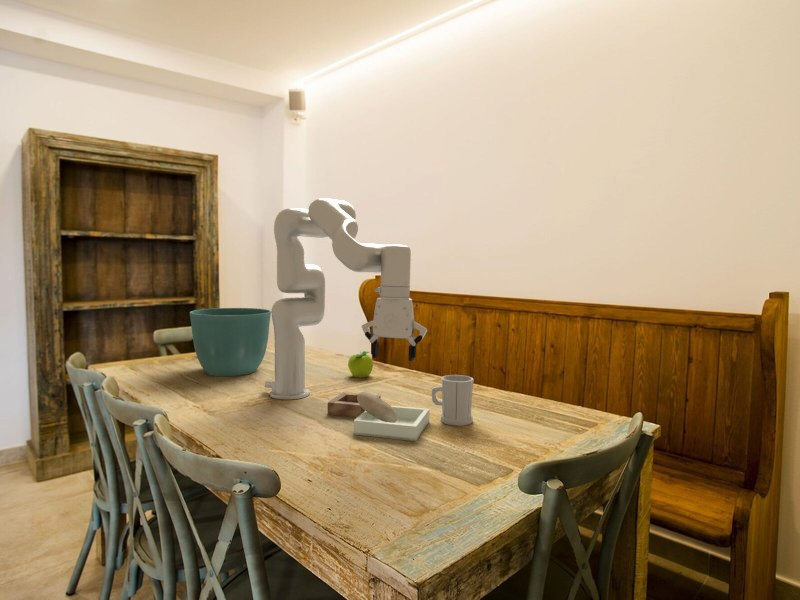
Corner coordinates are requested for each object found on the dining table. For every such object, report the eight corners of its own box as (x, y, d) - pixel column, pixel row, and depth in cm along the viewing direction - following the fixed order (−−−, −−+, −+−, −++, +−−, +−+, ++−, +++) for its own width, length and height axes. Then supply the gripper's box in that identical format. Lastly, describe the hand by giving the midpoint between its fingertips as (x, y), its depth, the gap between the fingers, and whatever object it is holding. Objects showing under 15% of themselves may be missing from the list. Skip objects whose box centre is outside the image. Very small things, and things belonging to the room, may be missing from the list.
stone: (398, 420, 128) (367, 384, 129) (380, 435, 129) (350, 399, 130) (403, 414, 133) (374, 380, 135) (386, 429, 134) (357, 394, 136)
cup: (446, 428, 131) (447, 383, 130) (428, 419, 139) (429, 376, 138) (479, 423, 136) (480, 380, 135) (460, 414, 144) (461, 373, 143)
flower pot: (258, 381, 181) (258, 315, 180) (176, 380, 182) (175, 313, 180) (279, 365, 211) (279, 308, 210) (208, 364, 212) (208, 307, 210)
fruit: (377, 377, 192) (377, 351, 191) (362, 381, 184) (363, 354, 183) (358, 374, 197) (358, 348, 196) (343, 378, 189) (343, 352, 188)
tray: (353, 434, 125) (353, 420, 125) (373, 416, 141) (373, 404, 140) (415, 441, 121) (416, 426, 121) (429, 421, 137) (429, 409, 136)
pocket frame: (327, 414, 142) (327, 402, 142) (343, 403, 154) (343, 392, 153) (367, 418, 139) (367, 405, 139) (380, 406, 151) (380, 395, 150)
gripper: (358, 292, 127) (356, 359, 129) (424, 295, 123) (422, 364, 124) (367, 291, 135) (366, 354, 136) (430, 293, 130) (428, 358, 131)
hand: (393, 358), depth 130 cm, fingers open, 9 cm apart
